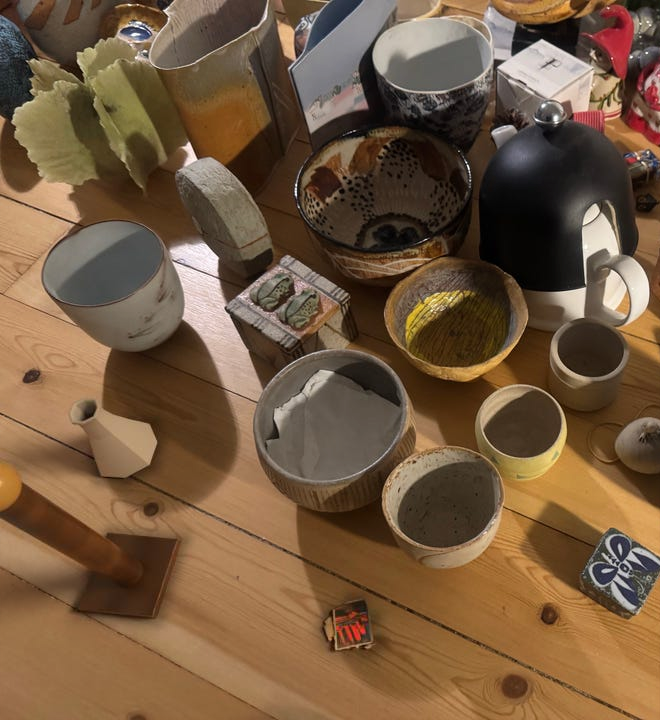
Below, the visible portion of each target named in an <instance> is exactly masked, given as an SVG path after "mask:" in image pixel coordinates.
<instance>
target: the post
mask: <svg viewBox="0 0 660 720" xmlns="http://www.w3.org/2000/svg"><path fill="white" fill-rule="evenodd" d="M0 519H1V520H3V521H4V522H7V523H8V524H10V525H11V526H14V528H17V530H18V529H19V530H20V531H22V532H24V533H25V534H28V535H29V536H30V537H32V538H33V539H36V540H38V541H40V542H41V543H43V544H45V545H46V546H49V547H50V548H51V549H54V550H55V551H57V552H59V553H61V554H63V555H64V556H66V557H67V558H70V559H71V560H73V561H74V562H76V563H78V564H80V565H82V566H83V567H85V568H87V569H89V570H90V571H91V572H90V573H91V574H90V576H89V579H88V581H87V584H86V586H85V590H84V592H83V594H82V597H81V599H80V601H79V604H78V606H77V609H78V610H80V611H83V612H89V613H101V614H111V615H122V616H131V617H140V618H150V619H157V618H158V616H159V612H160V610H161V609H160V608H161V606H162V602H163V600H164V598H165V597H164V596H165V593H166V591H167V587H168V584H169V581H170V578H171V575H172V572H173V569H174V566H175V563H176V560H177V557H178V553H179V550H180V547H181V545H182V541H181V540H180V539H179V538H172V537H171V538H170V537H160V536H150V535H149V536H148V535H137V534H127V533H116V532H107V533H106V535H105V536H104V535H102V534H101V533H100V532H98V531H96V530H95V529H93V528H92V527H90V526H89V525H88V524H86V523H84V522H83V521H81V520H80V519H78V518H77V517H76V516H74V515H73V514H71V513H69V512H68V511H67V510H65V509H63V508H62V507H61V506H59V505H58V504H56V503H54V501H52V500H50V499H48V498H47V497H46V496H44V495H42V493H40V492H38V491H37V490H36V489H33V488H32V487H31V486H29V485H28V484H26V483H24V482H23V481H22V478H21V475H20V474H19V472H18V471H17V469H16V468H14V467H13V466H12V465H10V464H9V463H7V462H4V461H0Z"/></svg>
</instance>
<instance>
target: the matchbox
mask: <svg viewBox="0 0 660 720" xmlns="http://www.w3.org/2000/svg"><path fill="white" fill-rule="evenodd" d="M370 611H371V610H370V609H369V606H368V604H367V602H366V600H365V598H359V599H354V600H349V601H347V602H344V603H342V604H341V605H339V606H337V607H336V608H334V609H332V616H329V617H328V618H327V619H326V620H325V621H324V623H325V625H323V627H324V630H325V633H326V637H327V638H328V641H330V642H331V641H332V640H333V639H334V649H335V651H341V650H344V649H345V650H346V649H348V650H349V649H350V648H356V649H359V647H360V646H362V645H365V646H364V649H366V650H368V649H371V648H372V647H374V646H375V645H377V643H376V642H374V643H373V640H374V635H373V632H372V631H373V628H372V623H371V622H372V618H371V612H370Z"/></svg>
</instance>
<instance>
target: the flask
mask: <svg viewBox="0 0 660 720" xmlns="http://www.w3.org/2000/svg"><path fill="white" fill-rule="evenodd" d="M67 415H68V417H69V420H70V422H71V424H72V425H75V426H79V427H80V428H81V429H82V430H83V431H84V433H85V434H86V436H87V438H88V440H89V443H90V447H91V451H92V456H93V458H94V462H95V463H96V466H97V469H98V471H99V474H100V477H109V478H123V479H125V478H127V477H130V476H131V475H133V474H135V473H138V472H139V471H141V470H143V469H144V468H146V467H148V466H150V465H151V462H152V459H153V456H154V454H155V450H156V447H157V445H158V440H157V438H156V436H155V433H154V431H153V429H152V426H151V424H150V423H147V422H143V421H139V420H134V419H130V418H126V417H123V416H119V415H117V414H113V413H111V412H109V411H107V410H105V409H104V408H102V406H101V405H100V402H99V400H98V398H96V397H83V398H80V399H78V400H76V401H75V402H73V403H72V404H71V407H70V409H69V410H68V414H67Z"/></svg>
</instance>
